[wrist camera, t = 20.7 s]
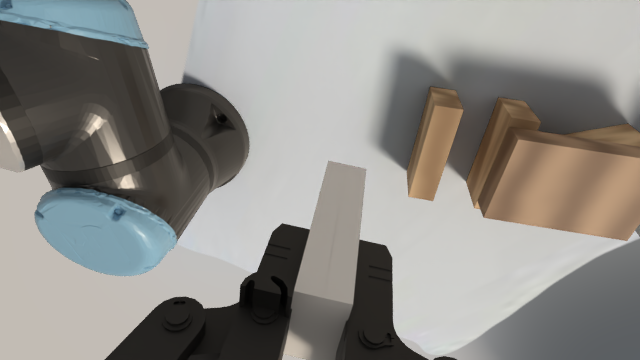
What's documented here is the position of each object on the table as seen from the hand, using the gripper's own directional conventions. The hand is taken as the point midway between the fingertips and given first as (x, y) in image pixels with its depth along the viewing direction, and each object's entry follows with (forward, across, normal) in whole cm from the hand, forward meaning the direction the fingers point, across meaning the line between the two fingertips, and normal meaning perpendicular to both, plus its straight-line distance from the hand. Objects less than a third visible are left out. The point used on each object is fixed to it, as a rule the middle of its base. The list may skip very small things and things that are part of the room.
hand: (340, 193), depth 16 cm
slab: (+28, +25, -11) cm, 38 cm away
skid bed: (+33, +14, -11) cm, 38 cm away
